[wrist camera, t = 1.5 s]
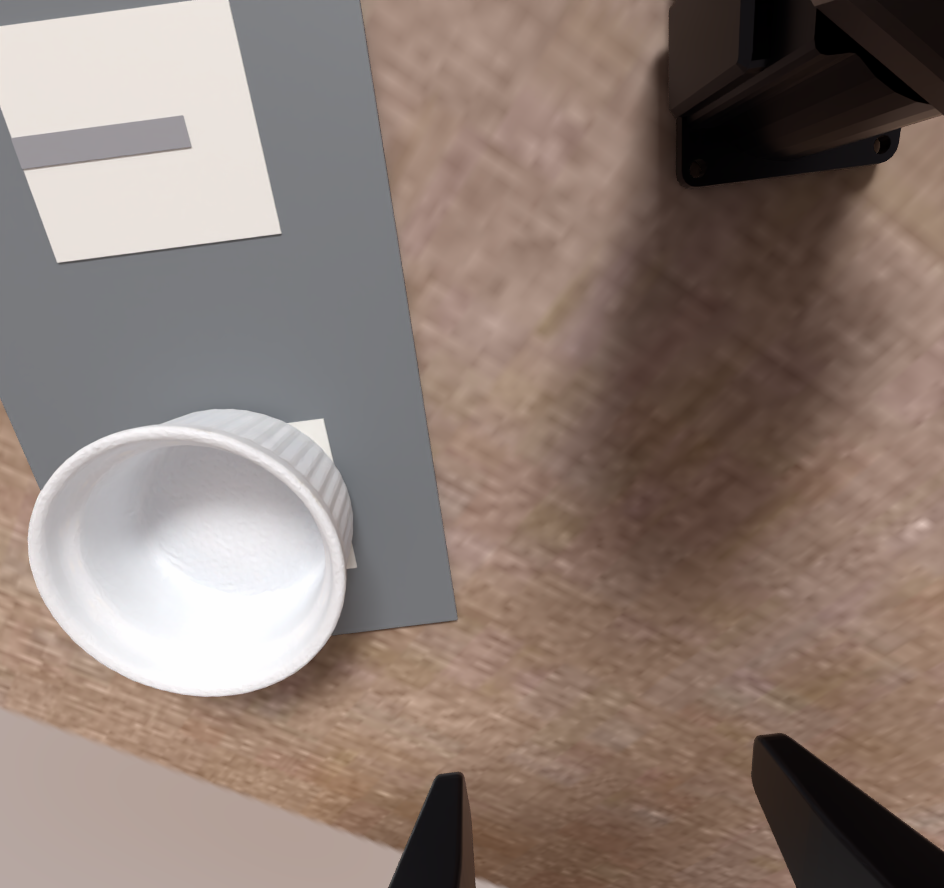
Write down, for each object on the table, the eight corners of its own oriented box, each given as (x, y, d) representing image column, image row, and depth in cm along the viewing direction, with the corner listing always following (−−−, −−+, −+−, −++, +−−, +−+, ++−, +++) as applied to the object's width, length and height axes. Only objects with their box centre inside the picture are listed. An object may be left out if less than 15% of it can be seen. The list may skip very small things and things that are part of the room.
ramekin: (64, 485, 18) (-47, 549, 14) (250, 338, 17) (186, 360, 13) (242, 648, 21) (190, 741, 17) (416, 531, 19) (407, 602, 15)
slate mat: (334, -162, 13) (331, -171, 13) (457, 616, 21) (457, 621, 21) (-204, -88, 13) (-219, -96, 13) (118, 658, 21) (114, 664, 21)
